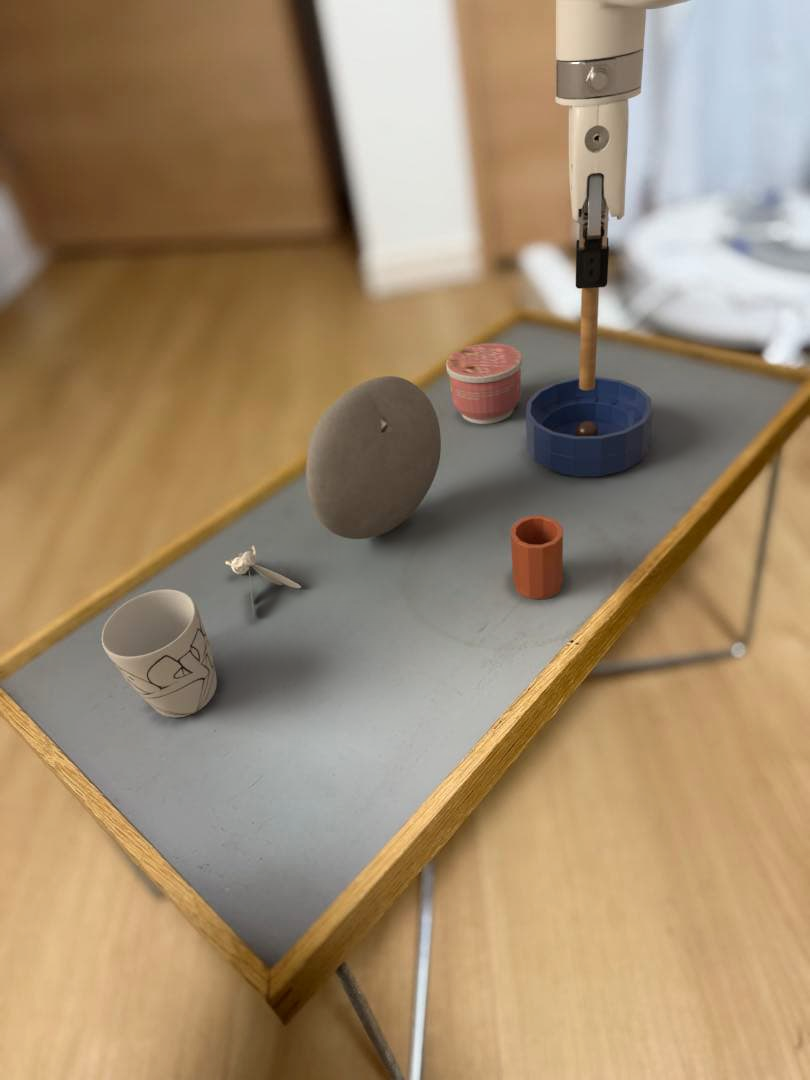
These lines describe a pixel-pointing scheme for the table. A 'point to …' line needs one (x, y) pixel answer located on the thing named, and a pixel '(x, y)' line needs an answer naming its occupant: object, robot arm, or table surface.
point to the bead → (587, 429)
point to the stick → (588, 337)
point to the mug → (163, 651)
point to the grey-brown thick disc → (372, 457)
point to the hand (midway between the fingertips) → (591, 281)
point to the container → (485, 381)
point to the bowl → (607, 405)
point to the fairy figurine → (258, 569)
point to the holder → (537, 556)
